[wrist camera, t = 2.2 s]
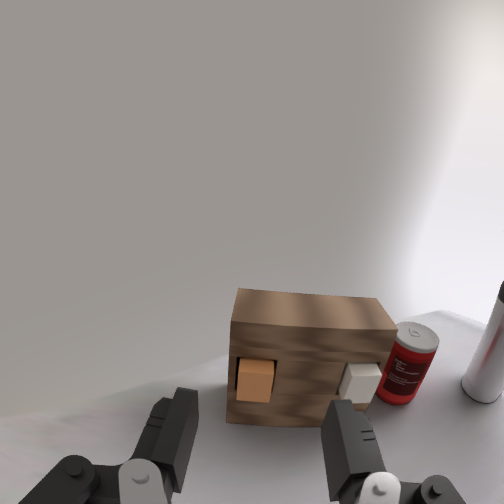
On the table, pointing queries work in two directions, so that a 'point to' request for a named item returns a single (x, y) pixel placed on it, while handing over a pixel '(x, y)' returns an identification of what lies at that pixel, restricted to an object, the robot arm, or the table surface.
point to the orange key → (255, 379)
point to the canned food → (407, 363)
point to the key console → (303, 351)
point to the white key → (359, 381)
